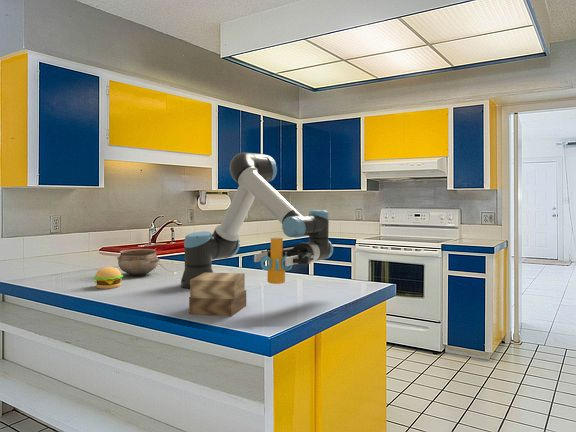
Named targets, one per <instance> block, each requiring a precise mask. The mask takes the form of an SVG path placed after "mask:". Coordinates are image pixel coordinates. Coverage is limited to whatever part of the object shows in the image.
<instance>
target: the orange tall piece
mask: <svg viewBox="0 0 576 432" xmlns="http://www.w3.org/2000/svg"><path fill="white" fill-rule="evenodd" d="M283 239H284V238H283V237H271V238H270V251H271V259H270V257H268V256H264V257H262V259H261V261H260V266H261V269H262V270H263V271H267V276H266V277H267V279H266V280H267V282H268V283H269V284H273V285H275V284H276V285H280V284H284V283H285V282H286V271H290V270H292V268H293V265H290V266H285V258H286V257H288V256H286V255H285V256H284V257H282V253H283V249H284V247H283V242H284V240H283ZM267 261H268V263H269V264H268V265H265V264H264V263H265V262H267Z"/></svg>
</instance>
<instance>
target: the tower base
mask: <svg viewBox="0 0 576 432" xmlns="http://www.w3.org/2000/svg"><path fill="white" fill-rule="evenodd" d="M188 298H189V299H188V303H189V304H188V305H189V306H188V309H189V312H188V313H189V315H200V316H213V317H215V316H216V317H233V316H234V315H236V314H237V313H239V312H240V311H241V310H243V309H245V307H247V290H246V289H245V290H244V291H243V292H242V293H241V294H240V295H238V296H237V297H236V298H235V299H210V298H190V296H189V297H188Z"/></svg>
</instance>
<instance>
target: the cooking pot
mask: <svg viewBox="0 0 576 432" xmlns="http://www.w3.org/2000/svg"><path fill="white" fill-rule="evenodd" d="M156 251H157V250H156V249H153V248H152V249H151V248H133V249H124V250H120V251H119V253H120V255H119V256H117V258H116V259H117V263H118V267H119V270H121V271H122V272H124V273H125V274H128V275H130V276H131V277H143V276H146V275H147V274H149V273H150V272H152V271H153V270H155V269H156V268H157V267H158V263H159V262H160V260H161V258H158V256H157V253H156Z"/></svg>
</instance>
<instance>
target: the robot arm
mask: <svg viewBox="0 0 576 432" xmlns="http://www.w3.org/2000/svg"><path fill="white" fill-rule="evenodd" d="M229 173H230V176H231V178H232V179H233V181H235V182H236V183H237V184H238V187H237V190H236V191H235V193H234V196H233V198H232V200H231V202H230V205H229V207H228V209H227V211H226V213H225V215H224V217H223V219H222V221H221V224H219V225H217V226H216V227H215V229H214V230H213V233H212V232H210V231H204V230H203V231H195V232H191V233H187V234H186V235H185V236H184V243H183V246H184V270H183V274H182V276H181V281H180V287H181V288H184V289H190V280H191V279H193V278H195V277H197V276H199V275H201V274H202V273H204V272H206V273H214V270H213V267H212V264H213V263H212V261H214V260H221V259H228V258H232V257H234V256H235V255H236V254H237V253H239V250H240V245H241V244H240V242H241V241H240V234H239V231H240V230H241V227H242V226H243V224H244V221H245V219H246V217H247V215H248V213H249V212H250V209H251V207H252V205H253V203H254V201H255V199H256V200H257V201H258V202H259V203H260V204H261V205H262V206H263V207H264V208H265V209H266V210H268V212H269V213H270V214H272V216H273V217H274V218H275V219H276V220H277V221H279V223H280V224H282V225H281V229H282V230H283V234H284V235H285V236H286V237H288V238H295V239H296V238H301V237H308V239H309V240H308V242H302V243H298V244H295V245H294V246H293V247H292V248H289V249H284V248H283V253H282V257H284V256H288V257H286V258H285V261H284V266H289V267H290V265H292V266H293V265H294V266H295V265H311V263H314V262H318V261H324V260H327V259H329V258H330V257H331V256H332V255H333V254H334V247H333V246H334V245H333V244H332V242H331V241H330V240H329V227H330V226H329V225H330V221H329V220H330V219H329V212H328V211H327V210H326V209H313V210H312V209H310V210H309V212H308V215H302V214H301V213H300V211H298V210H297V209H296V208H294V206H293V205H292V204H290V202H289V201H287V199H286V198H285V197H283V196H282V195H281V194H280V193H279V191H277V190H276V189H275V188H274V187H273V186H272V185H271V184H270V183H269V182H272V181H274V179H275V178H276V176H277V173H278V166H277V162H276V160H275V159H274V157H272V156H270V155H268V154H264V153H253V152H245V151H244V152H239V153H236V155H235V156H233V158H231V161H230V164H229ZM253 256H254V257H253V262H254V263H259V262H260V263H261V259H262V257H264V256H268V257H270V259H271V250H262V251H261V252H260V253H259V252H258V253H254V254H253Z"/></svg>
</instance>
